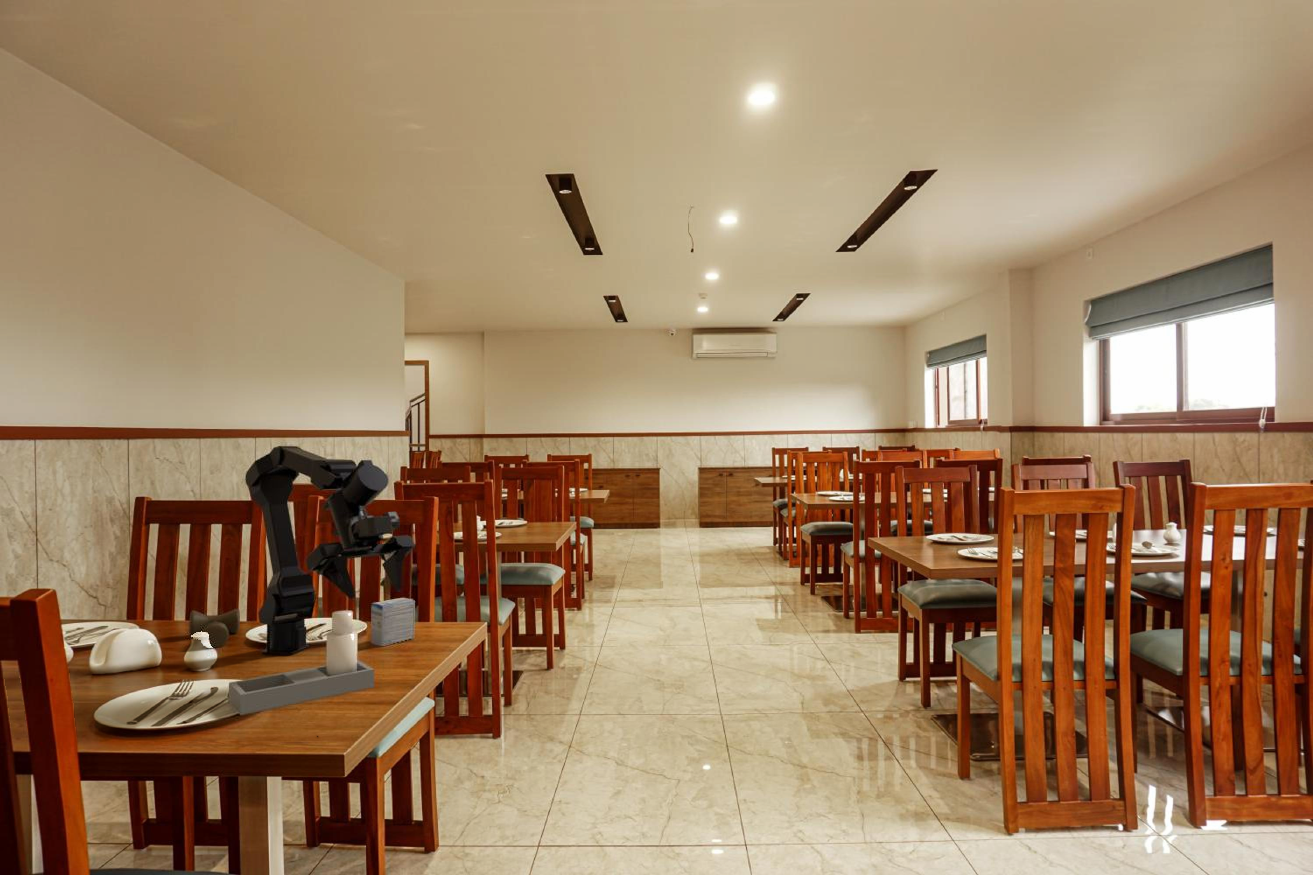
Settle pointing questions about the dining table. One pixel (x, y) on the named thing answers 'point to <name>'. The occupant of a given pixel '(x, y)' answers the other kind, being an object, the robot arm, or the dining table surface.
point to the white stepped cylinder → (341, 645)
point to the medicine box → (392, 621)
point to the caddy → (296, 688)
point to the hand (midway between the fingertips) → (376, 594)
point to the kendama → (215, 626)
